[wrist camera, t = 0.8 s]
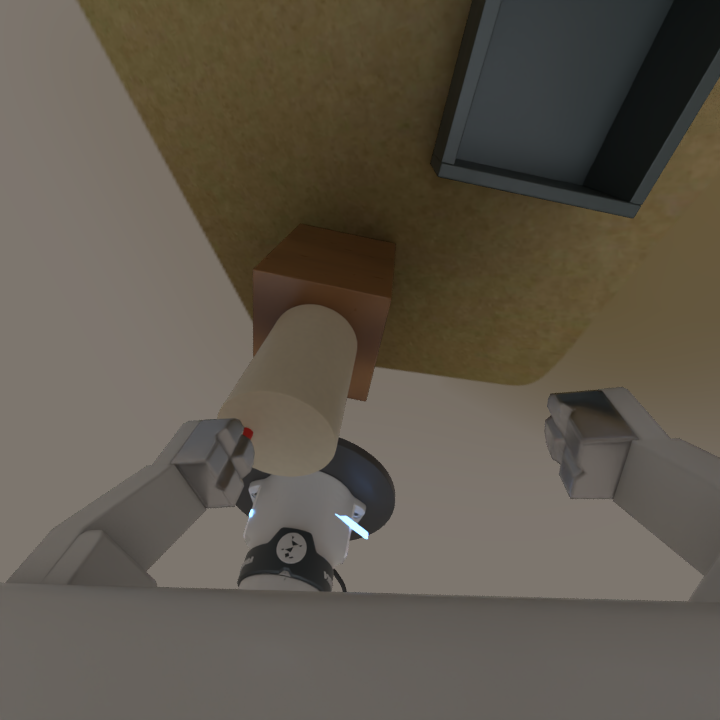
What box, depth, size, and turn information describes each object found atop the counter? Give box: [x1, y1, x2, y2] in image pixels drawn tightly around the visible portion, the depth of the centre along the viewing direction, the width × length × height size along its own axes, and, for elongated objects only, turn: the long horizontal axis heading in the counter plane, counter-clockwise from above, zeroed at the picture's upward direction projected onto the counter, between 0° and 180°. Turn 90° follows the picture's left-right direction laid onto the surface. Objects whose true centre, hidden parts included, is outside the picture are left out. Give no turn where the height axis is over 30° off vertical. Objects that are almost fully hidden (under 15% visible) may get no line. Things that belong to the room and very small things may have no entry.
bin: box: [430, 0, 720, 218], centre depth 21 cm, size 14×13×8 cm
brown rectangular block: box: [253, 224, 396, 401], centre depth 29 cm, size 9×9×12 cm
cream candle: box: [217, 304, 357, 477], centre depth 19 cm, size 6×6×12 cm
